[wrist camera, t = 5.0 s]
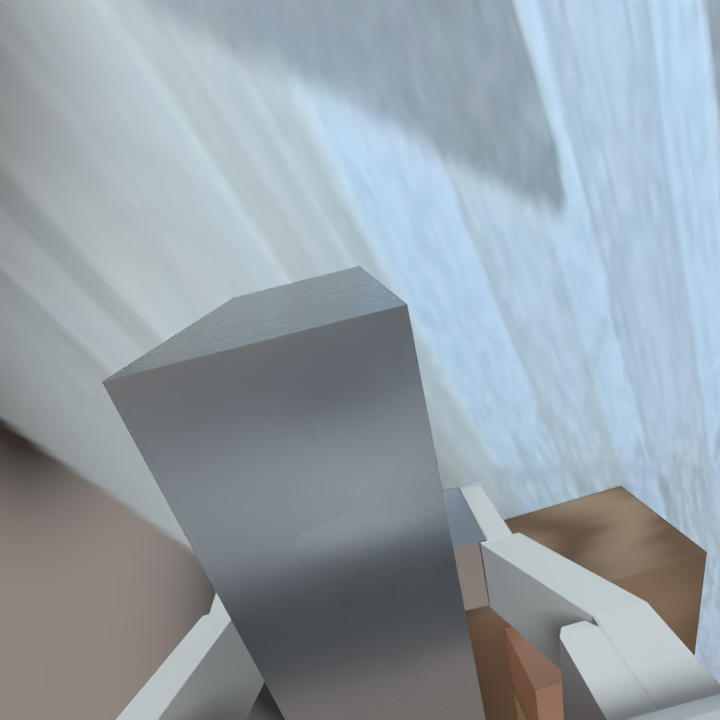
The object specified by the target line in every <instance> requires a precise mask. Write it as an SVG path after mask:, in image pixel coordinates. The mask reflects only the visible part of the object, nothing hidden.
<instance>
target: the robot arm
mask: <svg viewBox="0 0 720 720" xmlns="http://www.w3.org/2000/svg"><path fill="white" fill-rule="evenodd" d="M442 492H443V497H444V502H445V508H446V513H447V518H448V524H449V529H450V534H451V539H452V545H453V550H454V555H455V561H456V566H457V571H458V576H459V582H460V587H461V592H462V597H463V603H464V608H465V611H466V610H470V609H475V608H479V607H483V606H488V605H490V607H491V608H492V609H493V610H494V611H495V612H496V613H497V614H499V615H500V616H501V617H502V618H503V619H504V620H505V621H506V622H507V623H509V624H510V625H511V626H512V627H513V628H514V629H515V630H516V631H517V632H519V633H520V634H521V635H522V636H523V637H524V638H525V639H526V640H527V641H529V642H530V643H531V644H532V645H533V646H534V647H535V648H536V649H538V650H539V651H540V652H541V653H542V654H543V655H544V656H545V657H546V658H548V659H549V660H550V661H551V662H552V663H553V664H554V665H555V666H556V667H558V668H559V669H560V670H561V674H562V693H563V712H564V720H720V684H719V683H718V682H717V681H716V680H715V678H714V677H713V676H712V675H711V674H710V673H709V672H708V671H707V669H706V668H705V667H704V666H703V665H702V664H701V663H700V662H699V660H698V659H697V658H696V657H695V656H694V655H693V654H692V652H691V651H690V650H689V649H688V648H687V647H686V646H685V645H684V643H683V642H682V641H681V640H680V639H679V638H678V637H677V636H676V634H675V633H674V632H673V631H672V630H671V629H670V628H669V626H668V625H667V624H666V623H665V622H664V621H663V620H662V619H661V617H660V616H659V615H658V614H657V613H656V612H655V611H654V610H653V608H652V607H651V606H650V605H649V604H648V603H647V602H646V601H644V600H642V599H640V598H638V597H637V596H635V595H633V594H631V593H629V592H627V591H626V590H624V589H622V588H620V587H618V586H616V585H615V584H613V583H611V582H609V581H607V580H605V579H604V578H602V577H600V576H598V575H596V574H594V573H593V572H591V571H589V570H587V569H585V568H583V567H582V566H580V565H578V564H576V563H574V562H572V561H571V560H569V559H567V558H565V557H563V556H561V555H560V554H558V553H556V552H554V551H552V550H550V549H549V548H547V547H545V546H543V545H541V544H539V543H538V542H536V541H534V540H532V539H530V538H528V537H527V536H525V535H523V534H521V533H515V534H512V532H511V531H510V529H509V528H508V526H507V525H506V523H505V521H504V520H503V518H502V517H501V515H500V514H499V512H498V510H497V509H496V507H495V506H494V504H493V503H492V501H491V500H490V498H489V496H488V495H487V493H486V492H485V490H484V489H483V487H482V486H481V484H480V483H479V482H477V481H476V482H473V483H469V484H466V485H462V486H459V487H457V488H452V489H448V490H445V491H442ZM264 682H265V681H264V679H263V678H262V676H261V674H260V672H259V670H258V668H257V667H256V665H255V663H254V661H253V659H252V657H251V655H250V654H249V652H248V650H247V648H246V646H245V644H244V643H243V641H242V639H241V637H240V635H239V633H238V632H237V630H236V628H235V626H234V624H233V622H232V620H231V619H230V617H229V615H228V613H227V611H226V609H225V608H224V606H223V604H222V602H221V600H220V598H219V596H218V595H217V593H216V594H215V598H214V601H213V604H212V607H211V610H210V613H209V614H208V615H205V616H203V617H202V618H201V619H200V620H199V621H198V622H197V623H196V625H195V626H194V627H193V628H192V629H191V631H190V632H189V633H188V634H187V636H186V637H185V638H184V639H183V640H182V641H181V643H180V644H179V645H178V646H177V648H176V649H175V650H174V651H173V652H172V653H171V655H170V656H169V657H168V658H167V659H166V661H165V662H164V663H163V664H162V665H161V667H160V668H159V669H158V670H157V672H155V674H154V675H153V676H152V677H151V678H150V680H149V681H148V682H147V683H146V685H145V686H144V687H143V688H142V689H141V690H140V692H139V693H138V694H137V695H136V696H135V698H134V699H133V700H132V701H131V702H130V704H129V705H128V706H127V707H126V709H125V710H124V711H123V712H122V713H121V714H120V716H119V717H118V718H117V719H116V720H245V719H246V718H247V716H248V714H249V712H250V710H251V707H252V706H253V704H254V701H255V700H256V698H257V696H258V694H259V692H260V690H261V688H262V686H263V683H264Z"/></svg>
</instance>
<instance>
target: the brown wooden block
mask: <svg viewBox="0 0 720 720" xmlns="http://www.w3.org/2000/svg"><path fill="white" fill-rule="evenodd" d="M504 521H505V523H506V525H507V526H508V528H509V529H510V531H511V532H512V534H515V533H521V534H523V535H525V536H527V537H528V538H530V539H532V540H534V541H536V542H538V543H539V544H541V545H543V546H545V547H547V548H549V549H550V550H552V551H554V552H556V553H558V554H560V555H561V556H563V557H565V558H567V559H569V560H571V561H572V562H574V563H576V564H578V565H580V566H582V567H583V568H585V569H587V570H589V571H591V572H593V573H594V574H596V575H598V576H600V577H602V578H604V579H605V580H607V581H609V582H611V583H613V584H615V585H616V586H618V587H620V588H622V589H624V590H626V591H627V592H629V593H631V594H633V595H635V596H637V597H638V598H640V599H642V600H644V601H646V602H647V603H648V604H649V605H650V606H651V607H652V608H653V610H654V611H655V612H656V613H657V614H658V615H659V616H660V617H661V619H662V620H663V621H664V622H665V623H666V624H667V625H668V626H669V628H670V629H671V630H672V631H673V632H674V633H675V634H676V636H677V637H678V638H679V639H680V640H681V641H682V642H683V643H684V645H685V646H686V647H687V648H688V649H689V650H690V651H691V652H692V654H693V655H694V654H695V646H696V637H697V629H698V621H699V612H700V604H701V596H702V587H703V579H704V571H705V562H706V554H707V552H706V551H704V550H703V549H702V548H701V547H699V546H698V545H697V544H695V543H694V542H693V541H692V540H690V539H689V538H688V537H686V536H685V535H684V534H682V533H681V532H680V531H679V530H677V529H676V528H675V527H673V526H672V525H671V524H670V523H668V522H667V521H666V520H664V519H663V518H662V517H661V516H659V515H658V514H657V513H655V512H654V511H653V510H652V509H650V508H649V507H648V506H646V505H645V504H644V503H643V502H641V501H640V500H639V499H637V498H636V497H635V496H634V495H632V494H631V493H630V492H628V491H627V490H626V489H624V488H623V487H622V486H620V487H616V488H613V489H609V490H606V491H603V492H599V493H596V494H592V495H589V496H586V497H582V498H579V499H575V500H572V501H569V502H565V503H562V504H558V505H555V506H552V507H548V508H545V509H541V510H538V511H535V512H531V513H528V514H524V515H521V516H518V517H514V518H511V519H507V520H504ZM465 613H466V619H467V624H468V629H469V634H470V640H471V645H472V650H473V656H474V661H475V666H476V671H477V677H478V682H479V687H480V692H481V698H482V703H483V708H484V714H485V719H486V720H518V716H517V709H516V702H515V696H514V691H517V689H516V687H515V685H514V683H513V681H512V676H511V669H510V662H509V656H508V649H507V642H506V636H505V628H508V627H512V626H511V625H510V624H509V623H507V622H506V621H505V620H504V619H503V618H502V617H501V616H500V615H499V614H497V613H496V612H495V611H494V610H493V609H492V608H491V607H490V605H488V606H483V607H479V608H475V609H470V610H466V611H465Z"/></svg>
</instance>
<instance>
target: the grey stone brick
mask: <svg viewBox="0 0 720 720" xmlns="http://www.w3.org/2000/svg"><path fill="white" fill-rule="evenodd" d="M102 382H103V384H104V386H105V388H106V390H107V392H108V394H109V395H110V397H111V399H112V401H113V403H114V405H115V406H116V408H117V410H118V412H119V414H120V416H121V418H122V419H123V421H124V423H125V425H126V427H127V429H128V430H129V432H130V434H131V436H132V438H133V440H134V442H135V443H136V445H137V447H138V449H139V451H140V453H141V454H142V456H143V458H144V460H145V462H146V464H147V465H148V467H149V469H150V471H151V473H152V475H153V477H154V478H155V480H156V482H157V484H158V486H159V488H160V489H161V491H162V493H163V495H164V497H165V499H166V501H167V502H168V504H169V506H170V508H171V510H172V512H173V513H174V515H175V517H176V519H177V521H178V523H179V525H180V526H181V528H182V530H183V532H184V534H185V536H186V537H187V539H188V541H189V543H190V545H191V547H192V548H193V550H194V552H195V554H196V556H197V558H198V559H199V561H200V563H201V565H202V567H203V569H204V571H205V572H206V574H207V576H208V578H209V580H210V582H211V584H212V585H213V587H214V589H215V591H216V593H217V595H218V596H219V598H220V600H221V602H222V604H223V606H224V608H225V609H226V611H227V613H228V615H229V617H230V619H231V620H232V622H233V624H234V626H235V628H236V630H237V632H238V633H239V635H240V637H241V639H242V641H243V643H244V644H245V646H246V648H247V650H248V652H249V654H250V655H251V657H252V659H253V661H254V663H255V665H256V667H257V668H258V670H259V672H260V674H261V676H262V678H263V679H264V681H265V683H266V685H267V687H268V689H269V690H270V692H271V694H272V696H273V698H274V700H275V702H276V703H277V705H278V707H279V709H280V711H281V713H282V715H283V716H284V718H285V720H486V719H485V714H484V708H483V703H482V698H481V692H480V687H479V682H478V677H477V671H476V666H475V661H474V656H473V650H472V645H471V640H470V634H469V629H468V624H467V619H466V613H465V608H464V603H463V597H462V592H461V587H460V582H459V576H458V571H457V566H456V561H455V555H454V550H453V545H452V539H451V534H450V529H449V524H448V518H447V513H446V508H445V502H444V497H443V492H442V487H441V481H440V476H439V471H438V466H437V460H436V455H435V450H434V444H433V439H432V434H431V429H430V423H429V418H428V413H427V407H426V402H425V397H424V392H423V386H422V381H421V376H420V371H419V365H418V360H417V355H416V349H415V344H414V339H413V334H412V328H411V323H410V318H409V312H408V307H407V304H406V303H405V302H403V301H402V300H401V299H400V298H398V297H397V296H396V295H395V294H394V293H392V292H391V291H390V290H389V289H387V288H386V287H385V286H384V285H382V284H381V283H380V282H379V281H377V280H376V279H375V278H374V277H372V276H371V275H370V274H369V273H367V272H366V271H365V270H364V269H362V268H361V267H360V266H358V267H354V268H350V269H346V270H342V271H338V272H334V273H330V274H326V275H322V276H318V277H314V278H310V279H306V280H302V281H298V282H294V283H290V284H286V285H282V286H278V287H274V288H271V289H267V290H263V291H259V292H255V293H251V294H247V295H243V296H239V297H235V298H232V299H231V300H229V301H228V302H226V303H225V304H223V305H221V306H220V307H218V308H217V309H215V310H214V311H212V312H210V313H209V314H207V315H206V316H204V317H203V318H201V319H200V320H198V321H196V322H195V323H193V324H192V325H190V326H189V327H187V328H185V329H184V330H182V331H181V332H179V333H178V334H176V335H174V336H173V337H171V338H170V339H168V340H167V341H165V342H164V343H162V344H160V345H159V346H157V347H156V348H154V349H153V350H151V351H149V352H148V353H146V354H145V355H143V356H142V357H140V358H138V359H137V360H135V361H134V362H132V363H131V364H129V365H127V366H126V367H124V368H123V369H121V370H120V371H118V372H117V373H115V374H113V375H112V376H110V377H109V378H107V379H106V380H104V381H102Z"/></svg>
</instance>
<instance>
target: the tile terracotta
mask: <svg viewBox="0 0 720 720" xmlns="http://www.w3.org/2000/svg"><path fill="white" fill-rule="evenodd" d="M505 636H506V642H507V649H508V656H509V662H510V669H511V676H512V681H513V683H514V685H515V687H516V689H517V692H518V694H519V696H520V698H521V700H522V703H523V705H524V707H525V709H526V711H527V714H528V716H529V718H530V720H564V712H563V693H562V674H561V670H560V669H559V668H558V667H556V666H555V665H554V664H553V663H552V662H551V661H550V660H549V659H548V658H546V657H545V656H544V655H543V654H542V653H541V652H540V651H539V650H538V649H536V648H535V647H534V646H533V645H532V644H531V643H530V642H529V641H527V640H526V639H525V638H524V637H523V636H522V635H521V634H520V633H519V632H517V631H516V630H515V629H514V628H513V627H508V628H505Z"/></svg>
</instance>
